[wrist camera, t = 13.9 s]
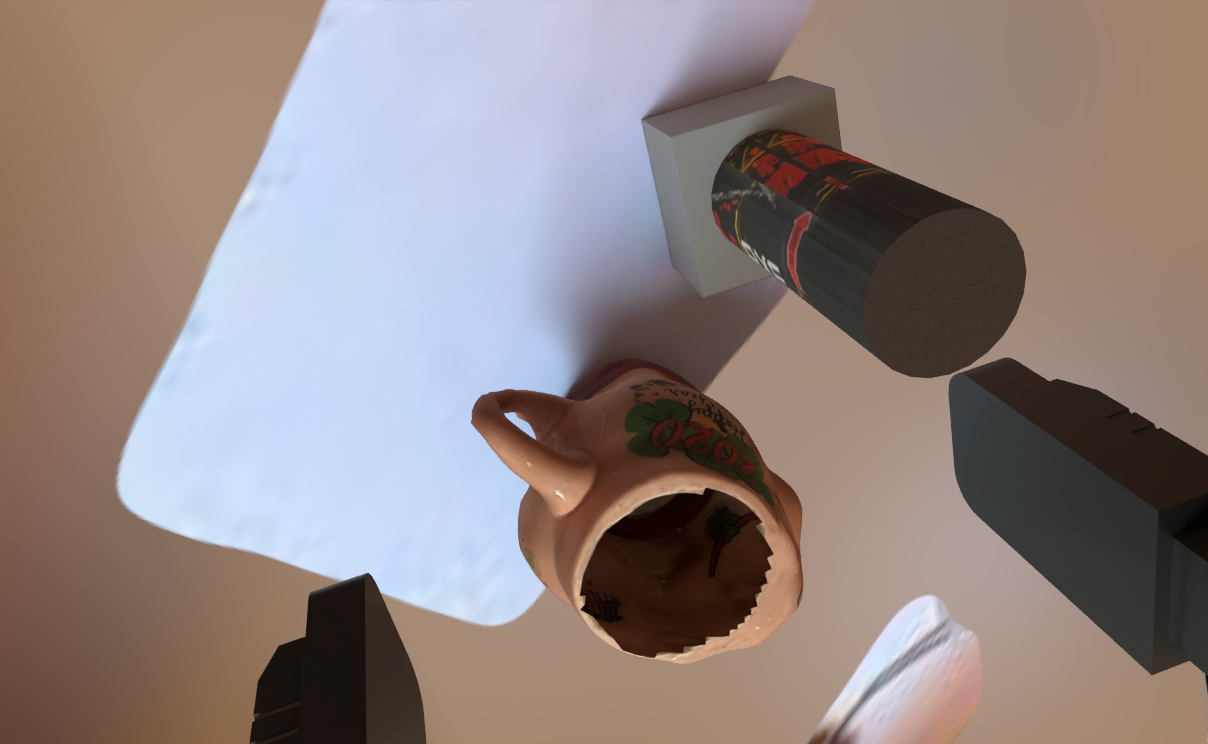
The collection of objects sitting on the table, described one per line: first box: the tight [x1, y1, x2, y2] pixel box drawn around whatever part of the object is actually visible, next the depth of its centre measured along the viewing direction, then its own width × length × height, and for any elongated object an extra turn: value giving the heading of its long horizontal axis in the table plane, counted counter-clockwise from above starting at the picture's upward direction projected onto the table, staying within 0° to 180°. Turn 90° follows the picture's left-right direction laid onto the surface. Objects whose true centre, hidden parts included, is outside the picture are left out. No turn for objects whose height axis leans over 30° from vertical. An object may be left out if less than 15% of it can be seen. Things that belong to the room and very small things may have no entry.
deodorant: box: [711, 128, 1026, 378], centre depth 38 cm, size 6×6×15 cm
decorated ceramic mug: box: [471, 359, 803, 664], centre depth 47 cm, size 20×12×14 cm, turn 57°
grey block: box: [641, 76, 842, 298], centre depth 47 cm, size 8×8×5 cm
